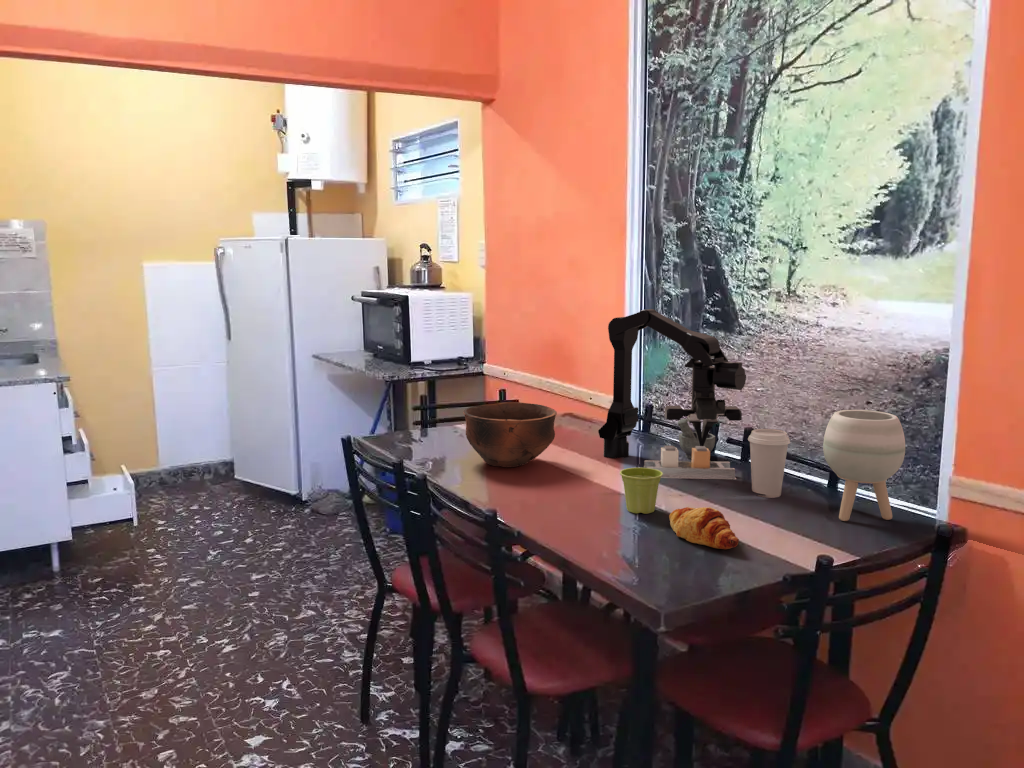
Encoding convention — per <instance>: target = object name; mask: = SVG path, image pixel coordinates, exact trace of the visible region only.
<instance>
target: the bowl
mask: <svg viewBox="0 0 1024 768" xmlns="http://www.w3.org/2000/svg"><path fill="white" fill-rule="evenodd" d="M462 413H463V415H464V418H465V419H464V420H465V436H466V439H467V440H468V443H469V445H470V446H471V447H472V449H473V450H474V451H475V452H476V453H477V454H478V455H479V457H481V458H482V460H483V461H484V462H485V463H486V465H489V466H493V467H502V468H514V467H519V466H523V465H526V464H528V463H529V462H531V461H533V460H535V459H536V458H537V457H538V456H540V455H541V454H542V453H543V452H544V451H545V450H546V449H547V448H549V446H550V445H551V444H552V442H553V441H554V439H555V435H556V431H555V422H556V421H555V419H556V417H557V414H558V412H557V411H556V410H555V409H553V408H552V407H549V406H547V405H544V404H537V403H530V402H520V401H519V402H517V401H515V402H514V401H509V402H497V403H490V404H489V403H488V404H480V405H475V406H470V407H467V408H465V409H464V411H463V412H462Z"/></svg>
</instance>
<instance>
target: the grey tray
mask: <svg viewBox="0 0 1024 768" xmlns="http://www.w3.org/2000/svg"><path fill="white" fill-rule="evenodd" d="M643 462H644V464H643V468H651V469H656V470H659V471H661V472H662V473H663V475H662V477H661V478H660V479H693V480H695V479H697V480H699V479H700V480H702V479H703V480H705V479H706V480H737V478H736V469H735V468H734V467H731V462H730V461H715V460H714V461H711V460H710V468H698V467H691V462H692V460H678V467H661V460H650V459H648V460H647V459H646V460H644V461H643Z"/></svg>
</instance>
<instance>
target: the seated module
mask: <svg viewBox="0 0 1024 768" xmlns="http://www.w3.org/2000/svg"><path fill="white" fill-rule="evenodd" d="M679 454H680V453H679V450H678V448H677V447H675V446H674V445H663V447H660V461H661V467H678V461H679Z"/></svg>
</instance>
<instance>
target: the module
mask: <svg viewBox="0 0 1024 768" xmlns="http://www.w3.org/2000/svg"><path fill="white" fill-rule="evenodd" d="M691 461H692V462H691V467H698V468H710V461H711V452H710V451H709V449H708V448H706V447H705V446H695V448H692V459H691Z"/></svg>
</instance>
